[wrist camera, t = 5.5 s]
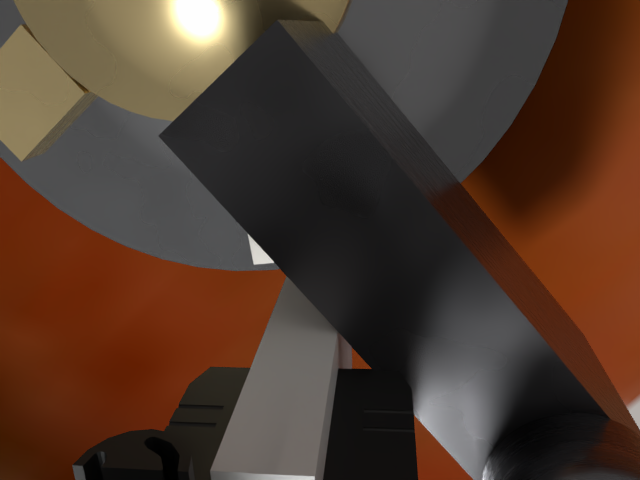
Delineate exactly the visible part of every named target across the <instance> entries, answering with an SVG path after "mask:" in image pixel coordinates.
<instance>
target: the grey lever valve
mask: <svg viewBox="0 0 640 480" xmlns="http://www.w3.org/2000/svg"><path fill="white" fill-rule="evenodd" d="M13 1H14V3H15V5H16V7H17V8H18V10H19V12H20V14H21V16H22V18H23V20H24V21H25V23H26V24H21V25H20V26H19V27H18V28H17V29H16V31H15V32H14V33H13V34H12V35H11V37H10V38H9V39H8V40H7V41H6V42H5V44H4V45H3V46H2V47H1V48H0V140H1V141H2V142H3V143H4V144H5V145H6V146H7V147H8V148H9V149H10V150H11V151H12V152H13V153H14V154H15V155H16V156H17V158H18V159H19V160H20V161H21V162H22V161H24V160H27V159H30V158H33V157H35V156H38V155H41V154H44V153H45V152H46V151H47V150H48V149H49V148H50V147H51V146H52V145H53V144H54V143H55V141H56V140H57V139H58V138H59V137H60V136H61V135H62V134H63V133H64V132H65V131H66V130H67V129H68V128H69V127H70V126H71V125H72V123H73V122H74V121H75V120H76V119H77V118H78V117H79V116H80V115H81V114H82V113H83V112H84V111H85V110H86V109H87V108H88V107H89V105H90V104H91V103H92V102H93V101H94V100H95V99H96V98H97V97H98V96H99V97H101V98H103V99H104V100H106V101H108V102H110V103H112V104H114V105H116V106H119V107H121V108H123V109H126V110H128V111H130V112H133V113H137V114H140V115H144V116H147V117H150V118H155V119H162V120H168V121H173V122H172V123H171V124H170V125H169V126H168V127H167V128H166V129H165V130H164V131H163V132H162V133H161V134H160V135H158V136H159V137H160V138H161V140H162V141H163V142H164V143H165V144H166V145H167V146H168V147H169V148H170V149H171V150H172V152H173V153H174V154H175V155H176V156H177V157H178V158H179V159H180V160H181V161H182V162H183V164H184V165H185V166H186V167H187V168H188V169H189V170H190V171H191V172H192V173H193V174H194V176H195V177H196V178H197V179H198V180H199V181H200V182H201V183H202V184H203V185H204V186H205V188H206V189H207V190H208V191H209V192H210V193H211V194H212V195H213V196H214V197H215V198H216V199H217V201H218V202H219V203H220V204H221V205H222V206H223V207H224V208H225V209H226V210H227V211H228V213H229V214H230V215H231V216H232V217H233V218H234V219H235V220H236V221H237V222H238V223H239V225H240V226H241V227H242V228H243V229H244V230H245V231H246V232H247V233H248V234H249V235H250V237H251V238H252V239H253V240H254V241H255V242H256V243H257V244H258V245H259V246H260V247H261V249H262V250H263V251H264V252H265V253H266V254H267V255H268V256H269V257H270V258H271V259H272V261H273V262H274V263H275V264H276V265H277V266H278V267H279V268H280V269H281V270H282V271H283V272H284V274H285V275H286V276H287V277H288V278H289V279H290V280H291V281H292V282H293V283H294V284H295V286H296V287H297V288H298V289H299V290H300V291H301V292H302V293H303V294H304V295H305V296H306V298H307V299H308V300H309V301H310V302H311V303H312V304H313V305H314V306H315V307H316V308H317V310H318V311H319V312H320V313H321V314H322V315H323V316H324V317H325V318H326V319H327V320H328V322H329V323H330V324H331V325H332V326H333V327H334V328H335V329H336V330H337V331H338V332H339V334H340V335H341V336H342V337H343V338H344V339H345V340H346V341H347V342H348V343H349V344H350V345H351V347H352V348H353V349H354V350H355V351H356V352H357V353H358V354H359V355H360V356H361V357H362V359H363V360H364V361H365V362H366V363H367V364H368V365H369V366H370V367H371V368H372V369H373V370H376V371H399V372H400V373H401V375H402V376H403V377H404V379H405V380H406V381H407V383H408V384H409V385H410V387H411V388H412V399H413V414H414V415H415V416H416V417H417V418H418V420H419V421H420V422H421V423H422V424H423V425H424V426H425V427H426V428H427V429H428V430H429V432H430V433H431V434H432V435H433V436H434V437H435V438H436V439H437V440H438V441H439V442H440V444H441V445H442V446H443V447H444V448H445V449H446V450H447V451H448V452H449V453H450V454H451V456H452V457H453V458H454V459H455V460H456V461H457V462H458V463H459V464H460V465H461V466H462V468H463V469H464V470H465V471H466V472H467V473H468V474H469V475H470V476H471V477H472V478H473V480H640V430H639V428H638V426H637V425H636V423H635V421H634V420H633V418H632V416H631V414H630V413H629V411H628V409H627V408H626V406H625V404H624V402H623V401H622V399H621V397H620V396H619V394H618V392H617V391H616V389H615V387H614V385H613V384H612V382H611V380H610V379H609V377H608V375H607V374H606V372H605V370H604V368H603V367H602V365H601V363H600V362H599V360H598V358H597V357H596V355H595V353H594V352H593V350H592V348H591V346H590V345H589V343H588V341H587V340H586V338H585V336H584V335H583V333H582V332H581V331H580V329H579V328H578V327H577V326H576V324H575V323H574V322H573V321H572V320H571V318H570V317H569V316H568V315H567V313H566V312H565V311H564V310H563V309H562V307H561V306H560V305H559V304H558V302H557V301H556V300H555V299H554V297H553V296H552V295H551V294H550V293H549V291H548V290H547V289H546V288H545V286H544V285H543V284H542V283H541V282H540V280H539V279H538V278H537V277H536V275H535V274H534V273H533V272H532V271H531V269H530V268H529V267H528V266H527V264H526V263H525V262H524V261H523V259H522V258H521V257H520V256H519V255H518V253H517V252H516V251H515V250H514V248H513V247H512V246H511V245H510V244H509V242H508V241H507V240H506V239H505V237H504V236H503V235H502V234H501V233H500V231H499V230H498V229H497V228H496V226H495V225H494V224H493V223H492V221H491V220H490V219H489V218H488V217H487V215H486V214H485V213H484V212H483V210H482V209H481V208H480V207H479V206H478V204H477V203H476V202H475V201H474V199H473V198H472V197H471V196H470V195H469V193H468V192H467V191H466V190H465V188H464V187H463V186H462V185H461V183H460V182H459V181H458V180H457V179H456V177H455V176H454V175H453V174H452V172H451V171H450V170H449V169H448V168H447V166H446V165H445V164H444V163H443V161H442V160H441V159H440V158H439V157H438V155H437V154H436V153H435V152H434V150H433V149H432V148H431V147H430V145H429V144H428V143H427V142H426V141H425V139H424V138H423V137H422V136H421V134H420V133H419V132H418V131H417V130H416V128H415V127H414V126H413V125H412V123H411V122H410V121H409V120H408V119H407V117H406V116H405V115H404V114H403V112H402V111H401V110H400V109H399V108H398V106H397V105H396V104H395V103H394V101H393V100H392V99H391V98H390V96H389V95H388V94H387V93H386V92H385V90H384V89H383V88H382V87H381V85H380V84H379V83H378V82H377V81H376V79H375V78H374V77H373V76H372V74H371V73H370V72H369V71H368V70H367V68H366V67H365V66H364V65H363V63H362V62H361V61H360V60H359V58H358V57H357V56H356V55H355V54H354V52H353V51H352V50H351V49H350V47H349V46H348V45H347V44H346V43H345V41H344V40H343V39H342V38H341V36H340V35H339V34H338V31H339V29H340V27H341V25H342V24H343V22H344V20H345V18H346V15H347V13H348V10H349V8H350V5H351V3H352V0H13Z"/></svg>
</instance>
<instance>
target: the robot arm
mask: <svg viewBox="0 0 640 480" xmlns="http://www.w3.org/2000/svg"><path fill="white" fill-rule="evenodd" d="M169 422H170V423H169V426H167V427H166V429H165V431H159V430H154V429H150V430H138V431H129V432H126V433H123V434H120V435H117V436H114V437H110V438H108V439H106V440H104V441H102V442H101V443H99V444H97V445H96V446H94V447H92V448H90V449H89V450H87V451H86V452H85V453H84V454H83V455H82V456H81V457H80V458H79V459H78V460H77V461H76V462H75V463H74V464H73V465H72V466H73V471H74V475H75V479H76V480H418V473H417V458H416V443H415V432H414V414H413V399H412V388H411V387H410V385H409V384H408V383H407V381H406V380H405V379H404V377H403V376H402V375H401V373H400V372H399V371H376V370H373V369H352V347H351V345H350V344H349V343H348V342H347V341H346V340H345V339H344V338H343V337H342V336H341V335H340V334H339V332H338V331H337V330H336V329H335V328H334V327H333V326H332V325H331V324H330V323H329V322H328V320H327V319H326V318H325V317H324V316H323V315H322V314H321V313H320V312H319V311H318V310H317V308H316V307H315V306H314V305H313V304H312V303H311V302H310V301H309V300H308V299H307V298H306V296H305V295H304V294H303V293H302V292H301V291H300V290H299V289H298V288H297V287H296V286H295V284H294V283H293V282H292V281H291V280H290V279H289V278H288V277H286V279H285V282H284V284H283V287H282V289H281V292H280V294H279V297H278V299H277V302H276V305H275V307H274V310H273V312H272V315H271V317H270V320H269V322H268V325H267V327H266V330H265V333H264V335H263V338H262V340H261V343H260V345H259V348H258V350H257V353H256V355H255V358H254V360H253V363H252V366H251V368H231V367H210V368H209V369H208V370H206V371H205V372H204V373H203V374H201V375H200V376H199V377H198V378H196V379H195V380H194V381H193V382H192V383H190V384H189V386H188V388H187V390H186V392H185V394H184V395H183V397H182V399H181V401H180V403H179V408H176V410H175V412H174V414H173V416H172V418H171V419H170V421H169Z"/></svg>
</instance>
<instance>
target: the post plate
mask: <svg viewBox="0 0 640 480" xmlns="http://www.w3.org/2000/svg"><path fill="white" fill-rule="evenodd" d="M567 2H568V0H352V3H351V5H350V8H349V10H348V13H347V15H346V18H345V20H344V22H343V24H342V25H341V27H340V29H339V31H338V34H339V35H340V36H341V38H342V39H343V40H344V41H345V43H346V44H347V45H348V46H349V47H350V49H351V50H352V51H353V52H354V54H355V55H356V56H357V57H358V58H359V60H360V61H361V62H362V63H363V65H364V66H365V67H366V68H367V70H368V71H369V72H370V73H371V74H372V76H373V77H374V78H375V79H376V81H377V82H378V83H379V84H380V85H381V87H382V88H383V89H384V90H385V92H386V93H387V94H388V95H389V96H390V98H391V99H392V100H393V101H394V103H395V104H396V105H397V106H398V108H399V109H400V110H401V111H402V112H403V114H404V115H405V116H406V117H407V119H408V120H409V121H410V122H411V123H412V125H413V126H414V127H415V128H416V130H417V131H418V132H419V133H420V134H421V136H422V137H423V138H424V139H425V141H426V142H427V143H428V144H429V145H430V147H431V148H432V149H433V150H434V152H435V153H436V154H437V155H438V157H439V158H440V159H441V160H442V161H443V163H444V164H445V165H446V166H447V168H448V169H449V170H450V171H451V172H452V174H453V175H454V176H455V177H456V179H457V180H458V181H459V182H460V183H461V182H462V181H463V180H464V179H465V178H466V177H467V176H468V175H469V174H470V173H471V172H472V171H473V170H474V169H475V168H476V167H477V166H478V165H479V164H480V163H481V162H482V161H483V160H484V159H485V158H486V156H487V155H488V154H489V153H490V151H491V150H492V149H493V147H494V146H495V145H496V144H497V142H498V141H499V140H500V139H501V137H502V136H503V135H504V133H505V132H506V131H507V130H508V128H509V127H510V126H511V124H512V123H513V121H514V119H515V118H516V116H517V114H518V113H519V111H520V109H521V108H522V106H523V104H524V103H525V101H526V99H527V98H528V96H529V94H530V93H531V91H532V89H533V88H534V86H535V84H536V82H537V80H538V78H539V76H540V74H541V71H542V69H543V67H544V65H545V62H546V60H547V58H548V56H549V53H550V51H551V49H552V47H553V44H554V42H555V40H556V38H557V34H558V31H559V28H560V25H561V22H562V18H563V15H564V12H565V9H566V5H567ZM21 24H26V23H25V21H24V20H23V18H22V16H21V14H20V12H19V10H18V8H17V7H16V5H15V3H14V1H13V0H0V48H1V47H2V46H3V45H4V44H5V42H6V41H7V40H8V39H9V38H10V37H11V35H12V34H13V33H14V32H15V31H16V29H17V28H18V27H19V26H20V25H21ZM172 122H173V121H168V120H162V119H155V118H150V117H147V116H144V115H140V114H137V113H133V112H130V111H128V110H126V109H123V108H121V107H119V106H116V105H114V104H112V103H110V102H108V101H106V100H104V99H103V98H101V97H99V96H98V97H97V98H96V99H95V100H94V101H93V102H92V103H91V104H90V105H89V107H88V108H87V109H86V110H85V111H84V112H83V113H82V114H81V115H80V116H79V117H78V118H77V119H76V120H75V121H74V122H73V123H72V125H71V126H70V127H69V128H68V129H67V130H66V131H65V132H64V133H63V134H62V135H61V136H60V137H59V138H58V139H57V140H56V141H55V143H54V144H53V145H52V146H51V147H50V148H49V149H48V150H47V151H46V152H45V153H44V154H41V155H38V156H35V157H33V158H30V159H27V160H24V161H22V162H21V161H20V160H19V159H18V158H17V156H16V155H15V154H14V153H13V152H12V151H11V150H10V149H9V148H8V147H7V146H6V145H5V144H4V143H3V142H2V141H1V140H0V157H1V158H2V159H3V160H4V161H5V162H6V163H7V164H8V165H9V166H10V167H11V168H12V169H13V170H14V171H15V172H16V173H17V174H18V175H19V176H20V177H21V178H22V179H23V180H24V181H25V182H26V183H27V184H29V185H30V186H31V187H32V188H34V189H35V190H36V191H37V192H39V193H40V194H41V195H42V196H43V197H45V198H46V199H47V200H48V201H50V202H51V203H52V204H53V205H55V206H56V207H57V208H58V209H60V210H62V211H63V212H65V213H66V214H68V215H70V216H71V217H73V218H74V219H76V220H77V221H79V222H81V223H82V224H84V225H85V226H87V227H88V228H90V229H92V230H94V231H96V232H98V233H100V234H102V235H104V236H106V237H108V238H110V239H112V240H114V241H116V242H118V243H120V244H122V245H124V246H127V247H129V248H132V249H135V250H138V251H141V252H144V253H146V254H149V255H152V256H155V257H158V258H161V259H164V260H169V261H173V262H178V263H182V264H187V265H191V266H196V267H203V268H213V269H223V270H233V271H246V270H275V269H280V268H279V267H278V266H277V265H276V264H275V263H274V262H273V261H272V259H271V258H270V257H269V256H268V255H267V254H266V253H265V252H264V251H263V250H262V249H261V247H260V246H259V245H258V244H257V243H256V242H255V241H254V240H253V239H252V238H251V237H250V235H249V234H248V233H247V232H246V231H245V230H244V229H243V228H242V227H241V226H240V225H239V223H238V222H237V221H236V220H235V219H234V218H233V217H232V216H231V215H230V214H229V213H228V211H227V210H226V209H225V208H224V207H223V206H222V205H221V204H220V203H219V202H218V201H217V199H216V198H215V197H214V196H213V195H212V194H211V193H210V192H209V191H208V190H207V189H206V188H205V186H204V185H203V184H202V183H201V182H200V181H199V180H198V179H197V178H196V177H195V176H194V174H193V173H192V172H191V171H190V170H189V169H188V168H187V167H186V166H185V165H184V164H183V162H182V161H181V160H180V159H179V158H178V157H177V156H176V155H175V154H174V153H173V152H172V150H171V149H170V148H169V147H168V146H167V145H166V144H165V143H164V142H163V141H162V140H161V138H160V137H159V136H158V135H160V134H161V133H162V132H163V131H164V130H165V129H166V128H167V127H168V126H169V125H170V124H171V123H172Z"/></svg>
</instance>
